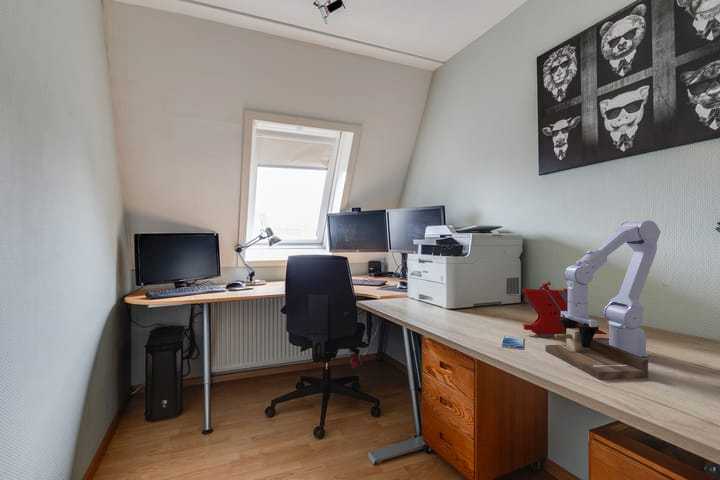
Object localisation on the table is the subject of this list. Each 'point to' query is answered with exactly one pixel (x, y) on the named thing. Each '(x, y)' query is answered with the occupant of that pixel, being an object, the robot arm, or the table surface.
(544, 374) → the table surface
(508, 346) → the smartphone
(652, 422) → the table surface
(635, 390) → the table surface
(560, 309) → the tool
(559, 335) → the beige block with rod
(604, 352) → the board
